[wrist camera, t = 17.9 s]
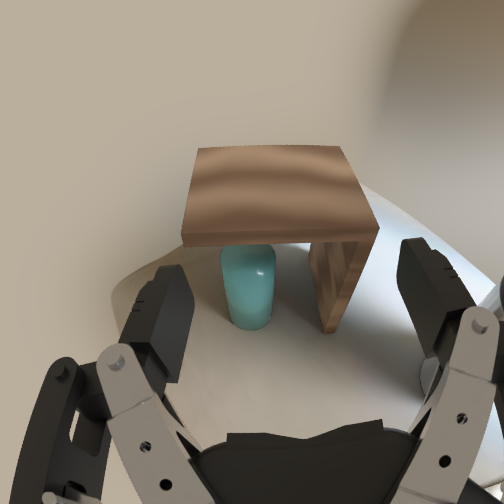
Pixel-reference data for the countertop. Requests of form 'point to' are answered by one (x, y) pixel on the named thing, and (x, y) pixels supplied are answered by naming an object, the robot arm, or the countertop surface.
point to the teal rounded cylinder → (249, 283)
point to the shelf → (286, 211)
